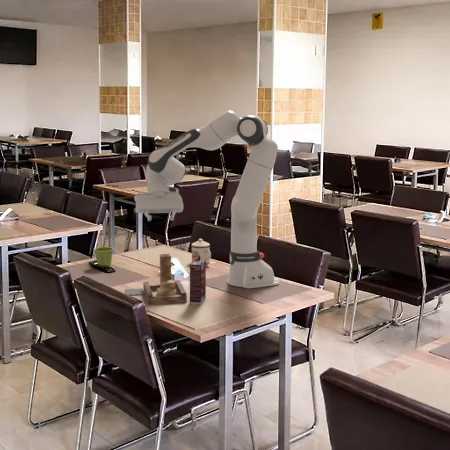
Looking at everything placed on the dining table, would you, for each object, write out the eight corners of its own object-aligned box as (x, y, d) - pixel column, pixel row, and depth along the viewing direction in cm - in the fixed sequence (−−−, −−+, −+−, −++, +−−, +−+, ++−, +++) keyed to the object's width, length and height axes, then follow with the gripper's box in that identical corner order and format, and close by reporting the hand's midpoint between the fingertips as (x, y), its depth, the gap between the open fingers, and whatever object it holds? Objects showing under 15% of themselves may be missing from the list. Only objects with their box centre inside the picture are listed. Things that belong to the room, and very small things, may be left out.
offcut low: (174, 296, 268) (174, 286, 267) (176, 299, 263) (176, 290, 262) (157, 297, 266) (156, 287, 266) (158, 301, 262) (158, 291, 261)
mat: (142, 289, 277) (142, 288, 277) (143, 294, 269) (143, 293, 269) (125, 290, 275) (125, 289, 275) (126, 295, 268) (126, 294, 268)
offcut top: (171, 287, 267) (171, 279, 266) (175, 289, 263) (175, 282, 263) (160, 288, 265) (160, 281, 264) (163, 291, 261) (163, 283, 261)
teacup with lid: (187, 262, 323) (187, 238, 321) (202, 259, 329) (202, 236, 326) (202, 266, 314) (202, 242, 312) (217, 263, 320) (217, 240, 317)
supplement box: (201, 305, 256) (201, 265, 253) (189, 304, 257) (189, 264, 254) (206, 298, 265) (206, 259, 262) (194, 297, 266) (194, 259, 263)
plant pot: (90, 268, 310) (90, 250, 308) (99, 263, 319) (98, 246, 317) (109, 270, 308) (108, 251, 306) (117, 265, 317) (116, 247, 315)
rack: (179, 287, 279) (179, 279, 279) (186, 302, 260) (186, 293, 259) (143, 289, 276) (143, 281, 275) (148, 304, 257) (148, 295, 256)
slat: (169, 291, 274) (169, 253, 271) (171, 294, 270) (170, 256, 267) (160, 291, 273) (159, 254, 270) (161, 295, 269) (161, 256, 266)
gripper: (134, 189, 281) (136, 216, 273) (181, 188, 285) (185, 215, 278) (133, 198, 286) (135, 224, 278) (180, 197, 290) (183, 223, 283)
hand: (160, 219), depth 278 cm, fingers open, 8 cm apart
